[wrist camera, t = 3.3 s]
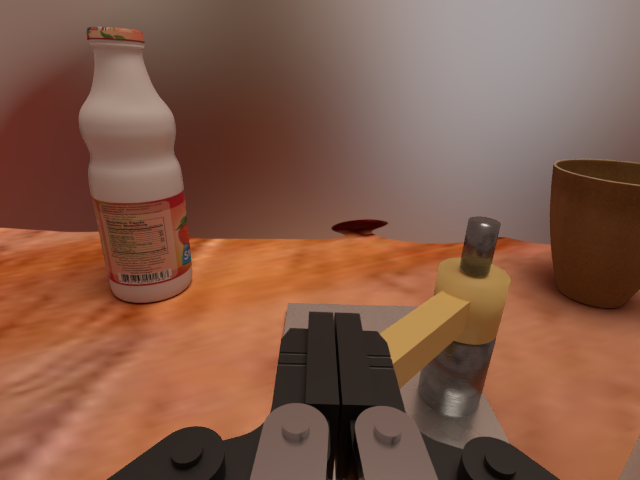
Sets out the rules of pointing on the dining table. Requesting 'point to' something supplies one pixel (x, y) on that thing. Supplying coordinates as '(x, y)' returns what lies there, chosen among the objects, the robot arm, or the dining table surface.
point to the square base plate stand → (438, 357)
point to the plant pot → (596, 230)
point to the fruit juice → (134, 173)
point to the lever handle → (448, 317)
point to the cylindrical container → (632, 464)
